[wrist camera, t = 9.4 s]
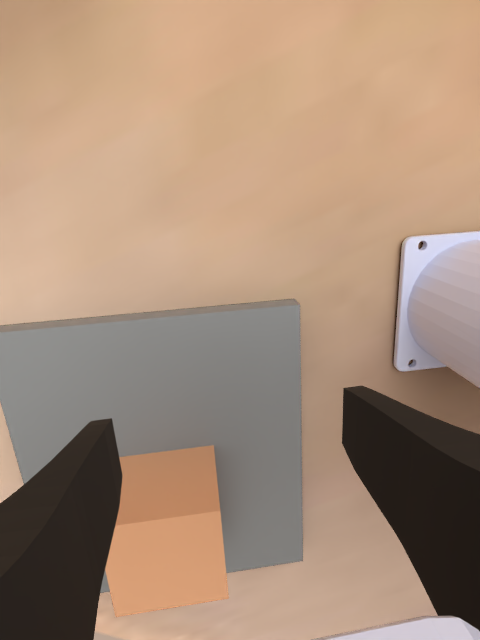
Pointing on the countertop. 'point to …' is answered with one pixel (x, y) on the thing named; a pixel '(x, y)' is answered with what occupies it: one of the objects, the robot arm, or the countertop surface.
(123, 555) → the peach orange cube
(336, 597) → the countertop surface
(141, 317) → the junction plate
